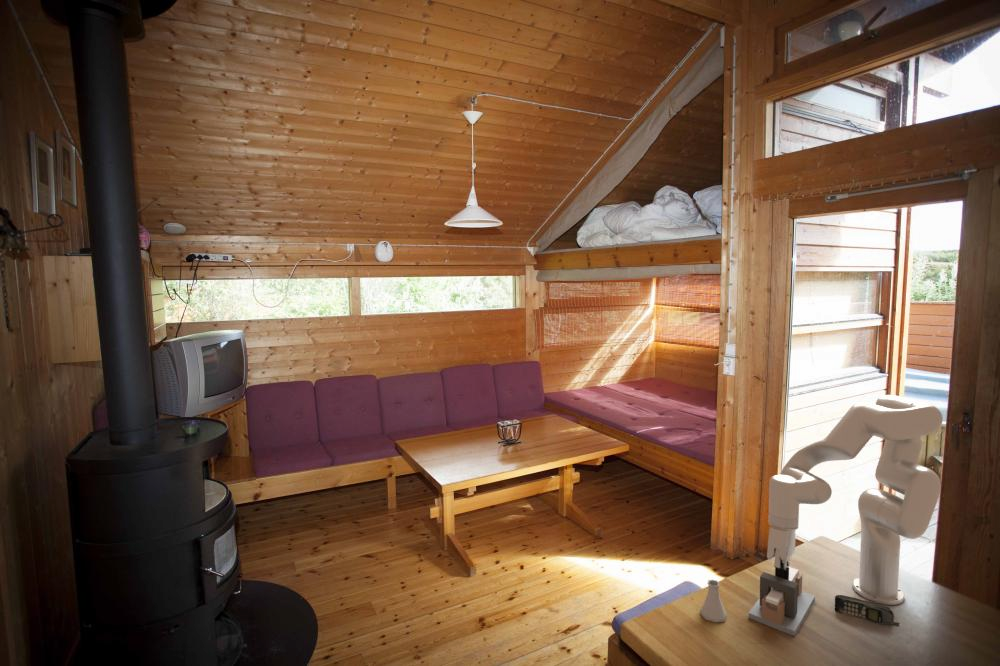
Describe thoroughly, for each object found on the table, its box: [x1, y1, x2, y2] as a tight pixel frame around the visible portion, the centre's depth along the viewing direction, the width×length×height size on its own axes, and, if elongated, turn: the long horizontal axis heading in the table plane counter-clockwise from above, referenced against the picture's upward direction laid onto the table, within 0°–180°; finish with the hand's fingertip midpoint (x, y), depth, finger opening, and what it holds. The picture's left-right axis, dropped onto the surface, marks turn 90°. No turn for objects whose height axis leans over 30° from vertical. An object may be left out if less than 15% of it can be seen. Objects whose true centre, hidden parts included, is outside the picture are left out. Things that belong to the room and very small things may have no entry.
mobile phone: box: [834, 594, 901, 626], centre depth 150 cm, size 5×3×15 cm
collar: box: [759, 571, 798, 618], centre depth 152 cm, size 3×9×9 cm, turn 46°
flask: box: [699, 579, 728, 623], centre depth 154 cm, size 7×7×10 cm
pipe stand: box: [748, 566, 816, 637], centre depth 155 cm, size 20×12×8 cm, turn 136°
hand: (781, 579), depth 154 cm, fingers closed
